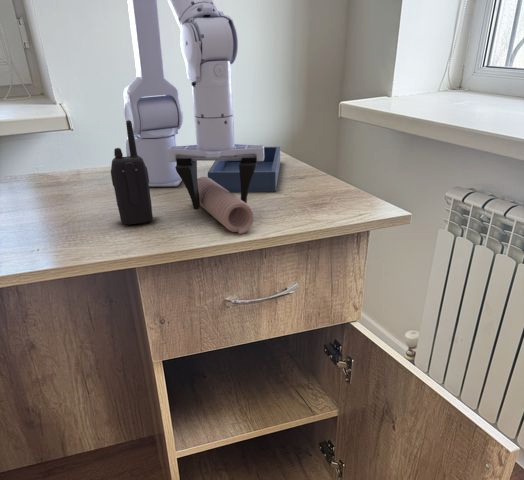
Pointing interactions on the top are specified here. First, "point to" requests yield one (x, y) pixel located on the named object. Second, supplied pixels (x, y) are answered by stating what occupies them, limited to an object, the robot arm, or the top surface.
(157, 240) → the top surface
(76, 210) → the top surface
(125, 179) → the two-way radio
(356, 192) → the top surface
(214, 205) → the pink hollow tube
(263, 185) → the holder
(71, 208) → the top surface
